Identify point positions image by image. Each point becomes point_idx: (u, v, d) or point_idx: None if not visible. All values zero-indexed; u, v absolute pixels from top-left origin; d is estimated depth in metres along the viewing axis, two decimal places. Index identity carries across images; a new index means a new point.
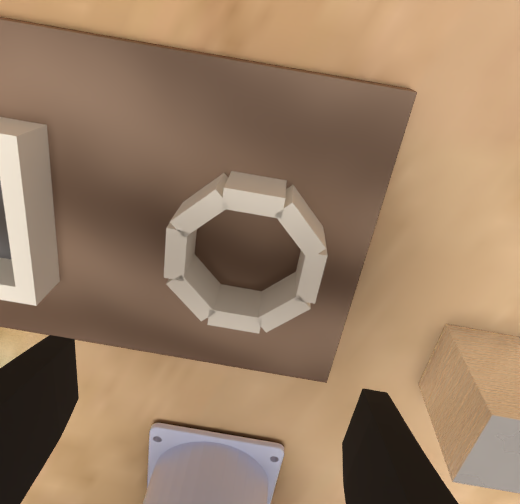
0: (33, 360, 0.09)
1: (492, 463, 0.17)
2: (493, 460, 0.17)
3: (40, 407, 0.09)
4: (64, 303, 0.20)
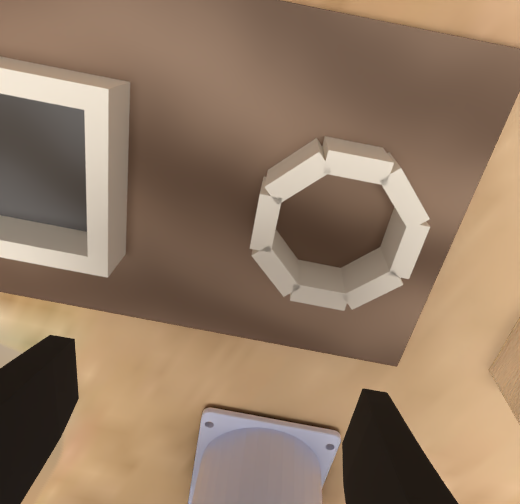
0: (33, 360, 0.09)
1: None
2: None
3: (40, 407, 0.09)
4: (128, 278, 0.19)
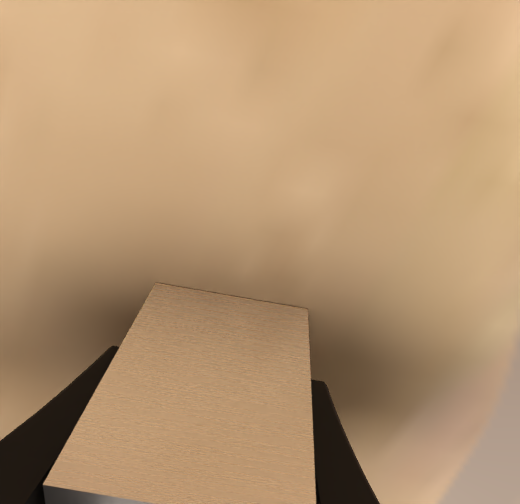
0: (104, 372, 0.09)
1: None
2: None
3: None
4: None
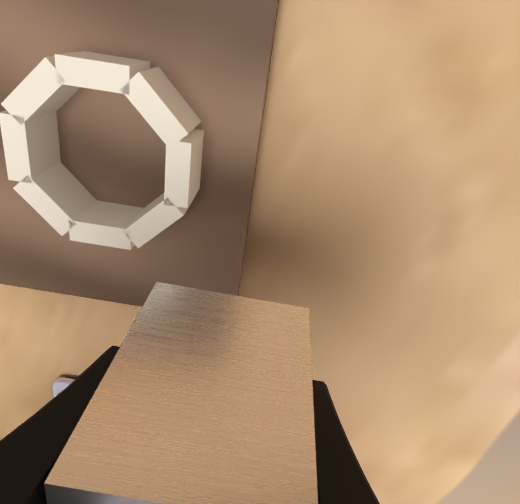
0: (104, 372, 0.09)
1: None
2: None
3: None
4: None
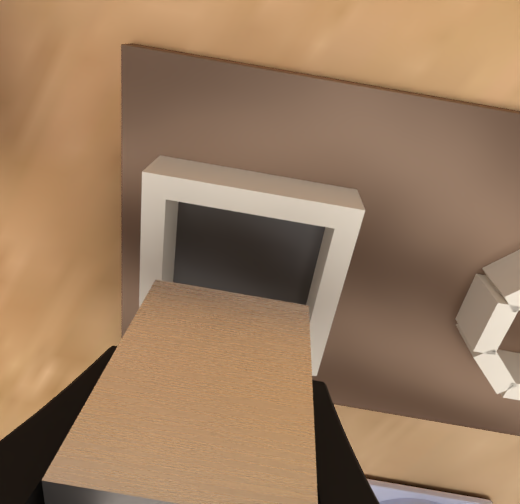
0: None
1: None
2: None
3: None
4: None
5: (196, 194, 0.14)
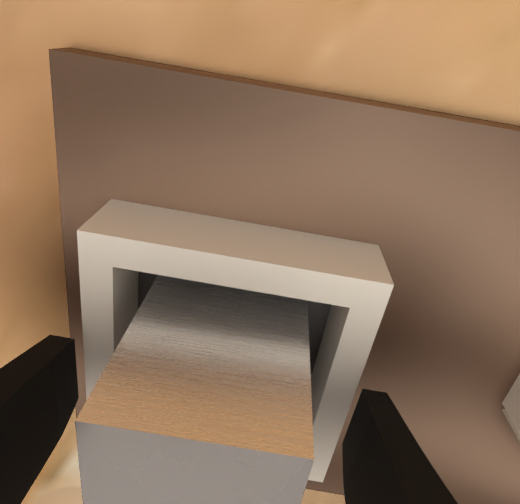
0: (33, 360, 0.09)
1: None
2: None
3: (40, 407, 0.09)
4: None
5: (155, 261, 0.10)
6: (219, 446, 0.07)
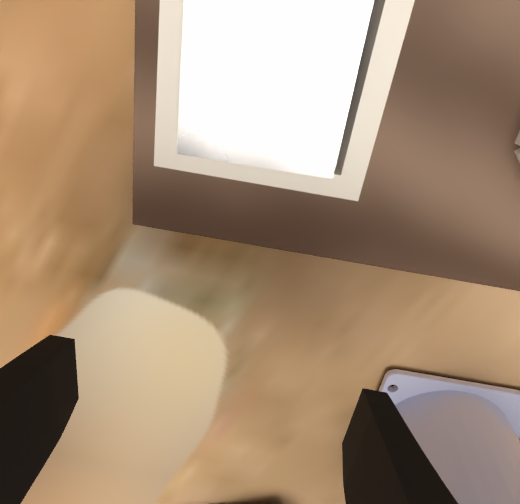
0: (33, 360, 0.09)
1: (224, 99, 0.10)
2: (222, 90, 0.10)
3: (40, 407, 0.09)
4: (346, 212, 0.17)
5: None
6: None
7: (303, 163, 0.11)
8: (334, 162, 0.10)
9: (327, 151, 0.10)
